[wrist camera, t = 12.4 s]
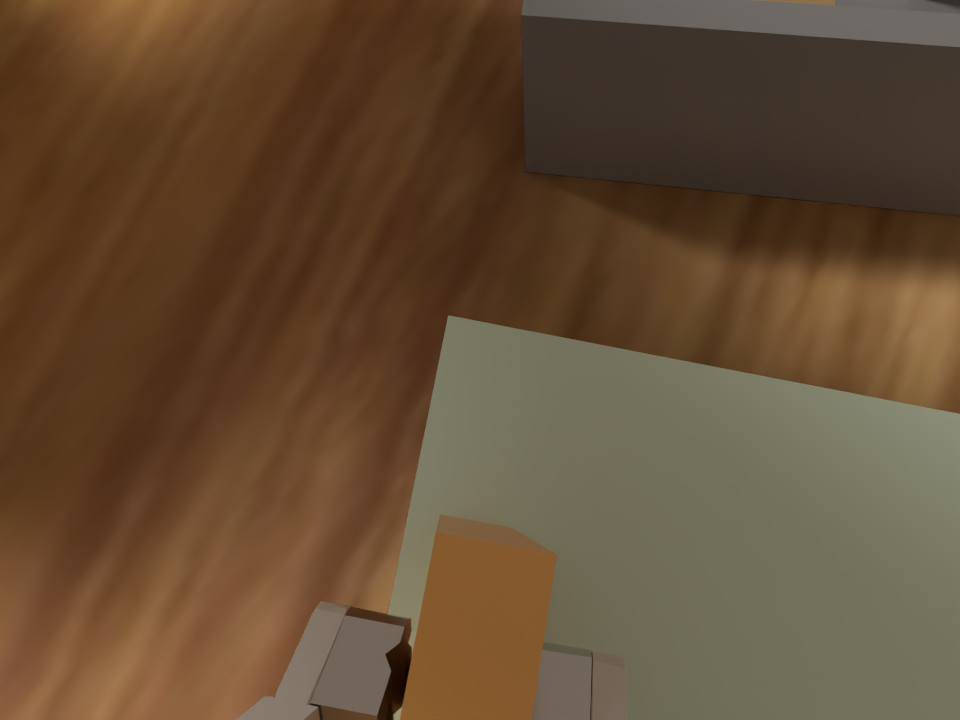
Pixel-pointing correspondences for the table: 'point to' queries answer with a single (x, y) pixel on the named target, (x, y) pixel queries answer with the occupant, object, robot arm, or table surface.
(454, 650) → the lid
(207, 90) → the table surface
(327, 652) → the robot arm
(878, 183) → the tub
